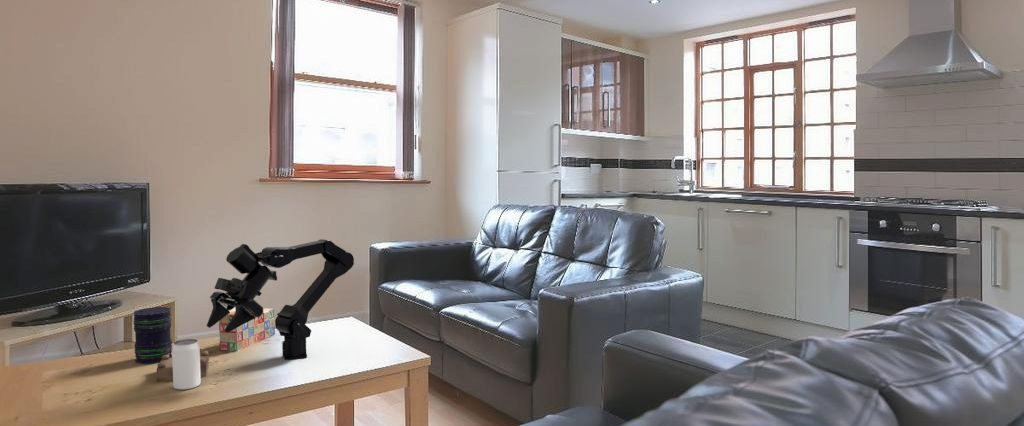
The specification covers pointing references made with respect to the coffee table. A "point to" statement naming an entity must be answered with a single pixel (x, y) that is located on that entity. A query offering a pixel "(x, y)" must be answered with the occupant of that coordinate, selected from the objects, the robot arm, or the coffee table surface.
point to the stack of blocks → (246, 331)
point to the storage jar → (152, 334)
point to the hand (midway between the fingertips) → (216, 329)
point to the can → (186, 364)
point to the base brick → (167, 367)
